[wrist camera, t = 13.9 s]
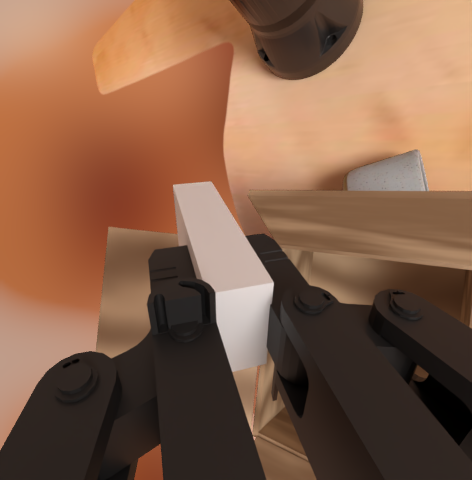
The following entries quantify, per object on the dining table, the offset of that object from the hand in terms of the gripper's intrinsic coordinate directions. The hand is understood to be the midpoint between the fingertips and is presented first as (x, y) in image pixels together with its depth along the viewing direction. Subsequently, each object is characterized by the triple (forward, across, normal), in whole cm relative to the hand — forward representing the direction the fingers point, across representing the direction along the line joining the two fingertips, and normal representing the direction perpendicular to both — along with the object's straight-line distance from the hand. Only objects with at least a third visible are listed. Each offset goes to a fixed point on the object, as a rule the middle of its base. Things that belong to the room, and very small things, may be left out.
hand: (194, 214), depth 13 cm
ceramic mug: (+17, +27, -10) cm, 33 cm away
